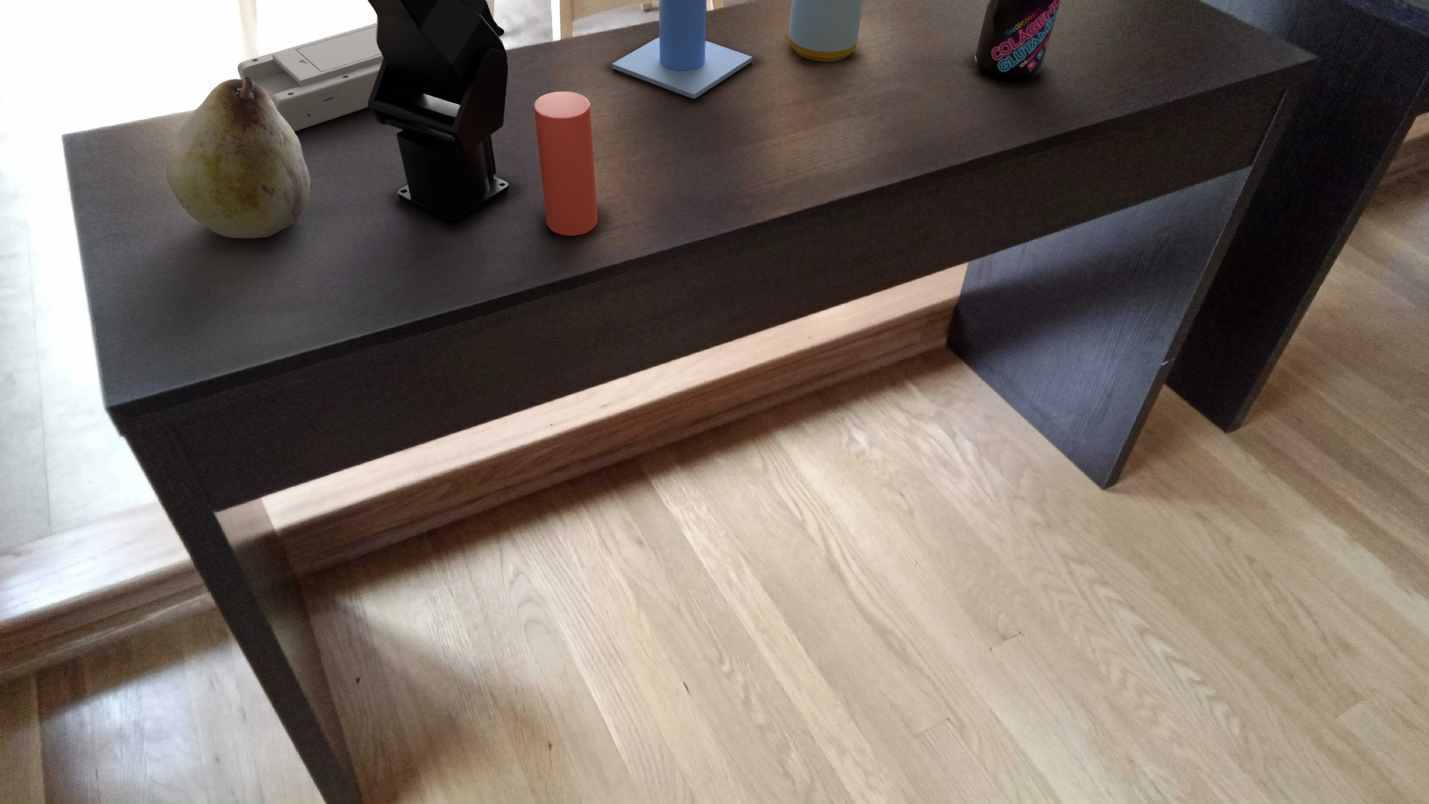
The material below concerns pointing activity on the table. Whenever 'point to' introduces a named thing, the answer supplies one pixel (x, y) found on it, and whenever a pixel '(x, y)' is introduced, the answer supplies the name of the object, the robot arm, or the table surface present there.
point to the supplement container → (1015, 38)
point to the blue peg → (682, 33)
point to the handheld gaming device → (319, 76)
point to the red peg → (566, 162)
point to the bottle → (824, 28)
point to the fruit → (239, 164)
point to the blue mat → (686, 82)
